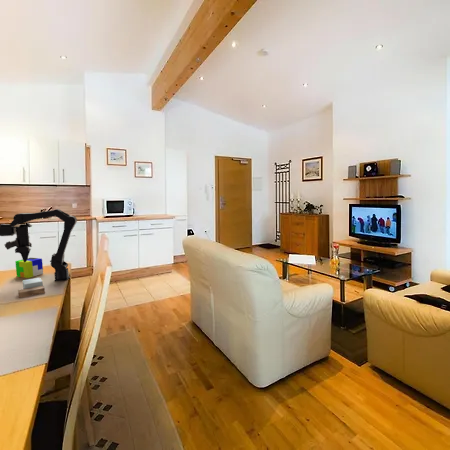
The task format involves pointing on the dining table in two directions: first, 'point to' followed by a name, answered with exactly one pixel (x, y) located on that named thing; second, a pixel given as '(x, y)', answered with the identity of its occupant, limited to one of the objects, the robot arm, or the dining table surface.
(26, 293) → the board
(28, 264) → the puzzle toy
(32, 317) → the dining table surface
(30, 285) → the block
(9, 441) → the dining table surface
